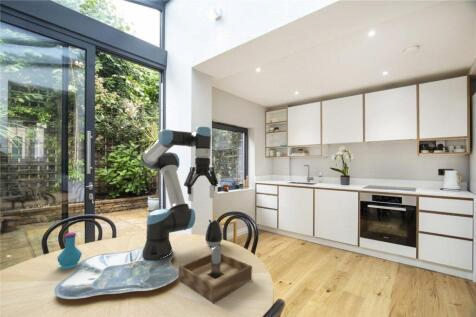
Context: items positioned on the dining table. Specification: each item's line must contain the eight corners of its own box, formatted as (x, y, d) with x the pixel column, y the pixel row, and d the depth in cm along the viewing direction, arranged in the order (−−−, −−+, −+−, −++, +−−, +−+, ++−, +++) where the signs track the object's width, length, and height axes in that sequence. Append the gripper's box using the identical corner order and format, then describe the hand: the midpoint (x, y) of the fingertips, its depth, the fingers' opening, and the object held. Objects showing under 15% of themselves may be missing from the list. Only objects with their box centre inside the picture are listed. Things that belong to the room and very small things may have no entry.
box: (178, 280, 93) (179, 266, 93) (216, 263, 110) (217, 251, 110) (213, 303, 79) (214, 286, 79) (251, 279, 95) (251, 265, 95)
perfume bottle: (83, 265, 104) (84, 233, 105) (58, 272, 98) (60, 238, 98) (78, 259, 111) (80, 229, 111) (55, 265, 104) (56, 233, 104)
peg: (208, 280, 94) (209, 247, 94) (215, 276, 97) (216, 245, 97) (215, 283, 91) (216, 250, 91) (222, 280, 94) (222, 247, 94)
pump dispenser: (215, 240, 141) (215, 217, 141) (225, 245, 133) (225, 220, 133) (201, 244, 134) (202, 219, 134) (211, 249, 126) (212, 223, 127)
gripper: (186, 156, 100) (185, 203, 99) (225, 158, 118) (224, 197, 118) (177, 156, 104) (176, 201, 104) (215, 158, 123) (214, 195, 123)
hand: (201, 199), depth 111 cm, fingers open, 13 cm apart
